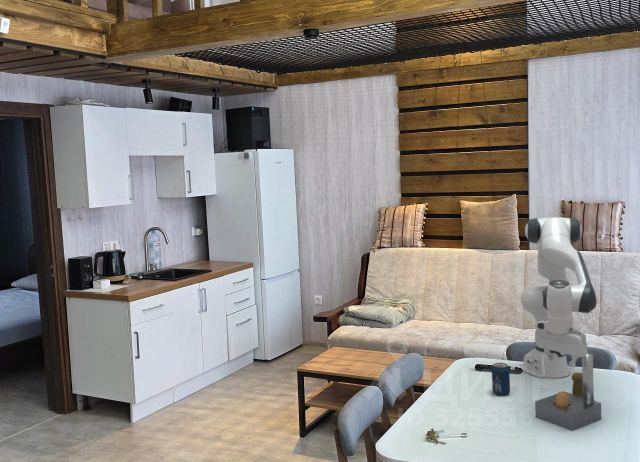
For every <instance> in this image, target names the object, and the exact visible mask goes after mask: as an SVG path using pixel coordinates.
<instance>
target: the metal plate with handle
mask: <svg viewBox="0 0 640 462" xmlns="http://www.w3.org/2000/svg"><path fill="white" fill-rule="evenodd" d="M581 367H582V368H581V369H582V370H581V371H582V372H581V373H582V375H583V397H580V396H577V395H574V394H572V392H571V393H570V392H567V391H564V390H563V391H562V392H564V393H567V394H568V404H569V406H566V407H564V408H563V407H560V406H557V405H556V393H555V394H552V395H550V396H547V397H544V398H541V399H539V400H535V402H534V407H535V408H534V409H535V412H534V413H535V418H537V419H539V420H542V421H545V422H548V423H551V424H553V425H556V426H558V427H561V428H563V429H564V428H565V429H567V430H570V431H571V432H573V431H575V430H578V429H580V428H583V427H586V426H588V425H590V424H593V423H595V422H599V421H600V420H602V403H601V402H599V401H596V400H595V397H594V396H595V393H594V392H595V391H594V390H595V389H594V386H595V385H594V353H591V352H588V354H587V355H586V356H584V357H581Z"/></svg>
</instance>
